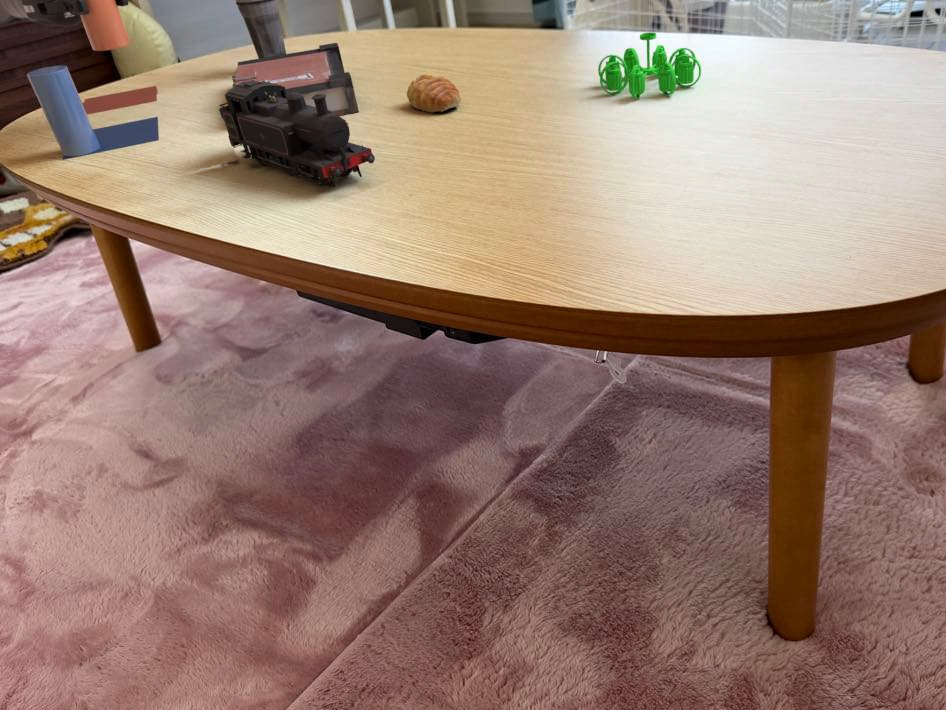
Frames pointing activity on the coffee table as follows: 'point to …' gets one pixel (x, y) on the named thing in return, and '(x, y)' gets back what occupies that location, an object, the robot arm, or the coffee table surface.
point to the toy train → (291, 132)
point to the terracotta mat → (120, 100)
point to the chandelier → (649, 70)
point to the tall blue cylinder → (64, 110)
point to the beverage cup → (263, 26)
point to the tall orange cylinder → (105, 25)
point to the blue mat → (126, 135)
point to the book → (305, 76)
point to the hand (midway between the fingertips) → (104, 1)
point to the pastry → (433, 93)
